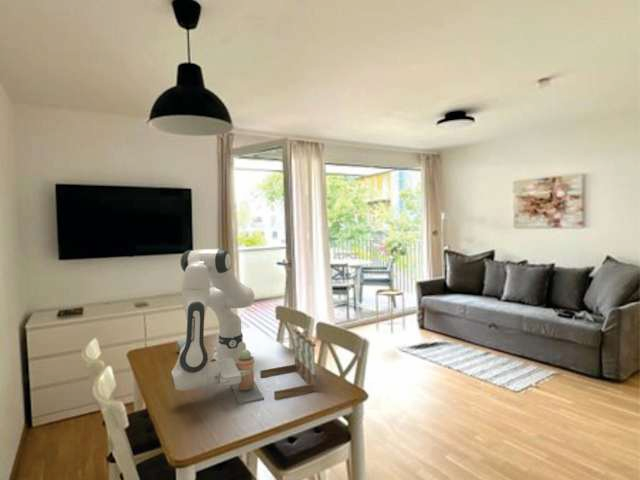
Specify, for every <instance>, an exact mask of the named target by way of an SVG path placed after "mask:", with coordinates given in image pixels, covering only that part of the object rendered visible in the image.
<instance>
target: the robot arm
mask: <svg viewBox="0 0 640 480" xmlns="http://www.w3.org/2000/svg"><path fill="white" fill-rule="evenodd" d="M180 267H181V269H182V271H183V272H184V273H183V278H182V285H181V302H182V303H181V304H182V308H183V309H184V314H185V317H186V334H185V335H186V337H185V338H186V344H185V345H184V346H183V347H182V348H181V350H180V353H179V355H178V358H177V360H176V363H175V365H174V367H173V369H172V370H171V372H170V376H171V381H172V382H171V383H172V385H173V386H172V387H173V388H174V389H175V390H177V391H187V390H193V389H198V388H200V387H210V386H216V385H220V384H221V385H223V386H231V385H232V384H238V383H240V382H241V377H243V376H245V375H246V374H250V369H245V370H243V371H239V370H238V364H237V358H239V357H240V353H241V352H242V351H243V350H247V346H246V343H245V342H244V341H243V337H244V335H243V333H242V319H241V318H240V316H239V315H238V314H236V313H234V312H233V311H232V309H243V308H249V307H252V305H253V303H254V301H255V293H254V290H253V289H252V288H251V287H249V286H246V285H244V283H242V282H241V281H240V280H238V278H237V277H236V276H235V273H234V271H233V268H232V255H231V254H230V252H229V251H228V250H226V249H223V248H203V249H202V248H201V249H200V248H199V249H188V250H186V251H184V252H183V253H182V255H181V258H180ZM211 284H212V287H211ZM208 307H209V308H210V309H211V310H212V311H213V312H214V314H215V316H216V318H217V321H218V328H219V329H218V330H219V331H218V332H219V334H218V344H217V347H214V350H213V351H214V353H213V358H211V359H210V360H209V362H208V359H209V357H208V356H209V355H208V352H207V349H206V348H205V345H204V335H205V334H204V331H205V330H204V328H205V317H206V313H207V309H208Z"/></svg>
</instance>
